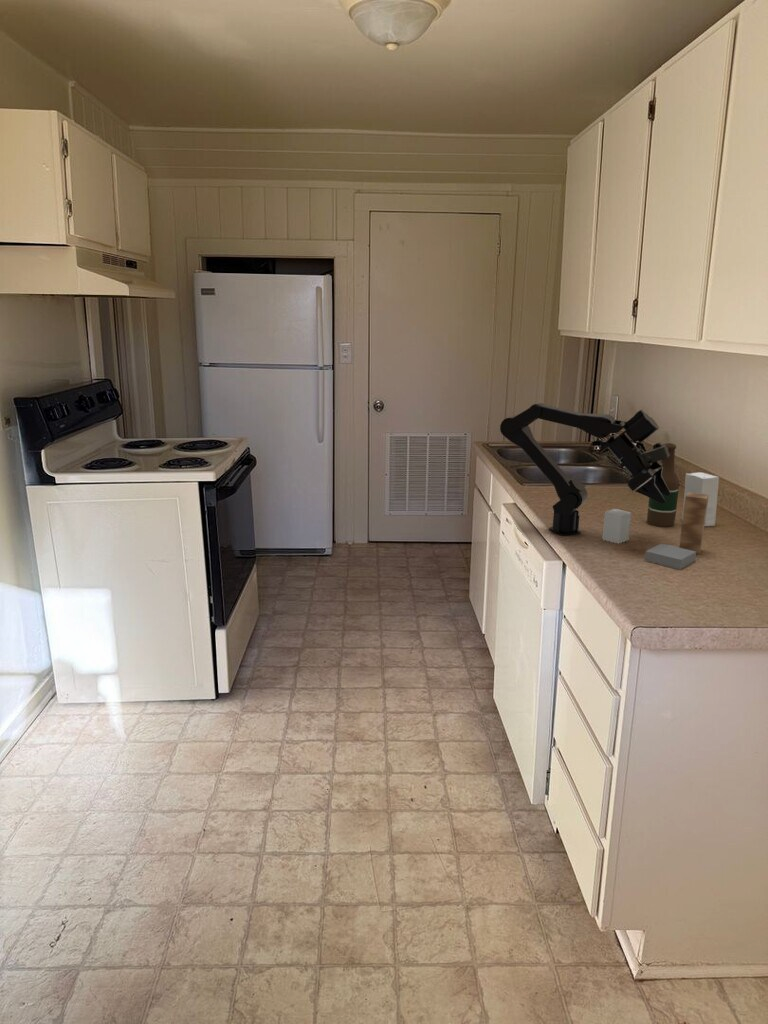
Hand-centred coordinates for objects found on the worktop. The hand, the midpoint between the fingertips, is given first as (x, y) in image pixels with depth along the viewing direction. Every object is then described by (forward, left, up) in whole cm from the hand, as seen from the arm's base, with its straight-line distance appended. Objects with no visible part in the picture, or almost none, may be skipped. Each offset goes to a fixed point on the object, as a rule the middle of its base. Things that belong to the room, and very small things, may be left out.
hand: (666, 498), depth 186 cm
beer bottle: (+15, +18, -13) cm, 27 cm away
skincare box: (+26, +15, -13) cm, 32 cm away
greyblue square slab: (-6, -10, -14) cm, 18 cm away
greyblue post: (-8, +9, -13) cm, 18 cm away
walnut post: (+5, -5, -13) cm, 15 cm away
